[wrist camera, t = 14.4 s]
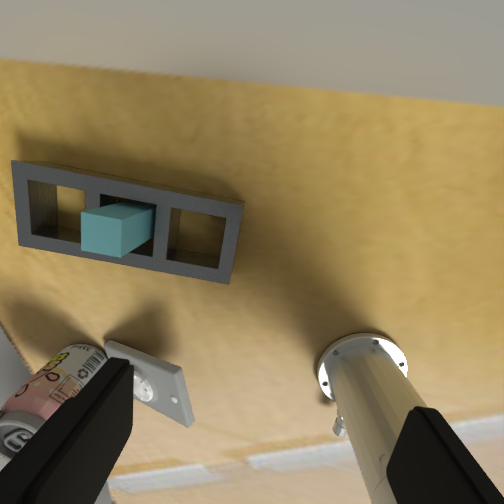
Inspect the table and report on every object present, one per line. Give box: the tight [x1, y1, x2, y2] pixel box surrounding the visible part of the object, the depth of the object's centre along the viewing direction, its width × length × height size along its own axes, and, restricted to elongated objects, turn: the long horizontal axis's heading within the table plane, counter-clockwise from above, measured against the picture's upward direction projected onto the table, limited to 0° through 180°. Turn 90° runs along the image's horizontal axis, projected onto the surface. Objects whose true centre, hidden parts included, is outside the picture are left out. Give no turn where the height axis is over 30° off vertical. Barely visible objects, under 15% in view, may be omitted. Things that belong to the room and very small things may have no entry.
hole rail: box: [11, 160, 245, 284], centre depth 30 cm, size 9×24×4 cm, turn 79°
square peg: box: [81, 201, 157, 258], centre depth 27 cm, size 4×4×9 cm
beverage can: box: [0, 344, 108, 462], centre depth 33 cm, size 9×8×12 cm
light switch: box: [104, 340, 195, 428], centre depth 36 cm, size 8×6×14 cm
